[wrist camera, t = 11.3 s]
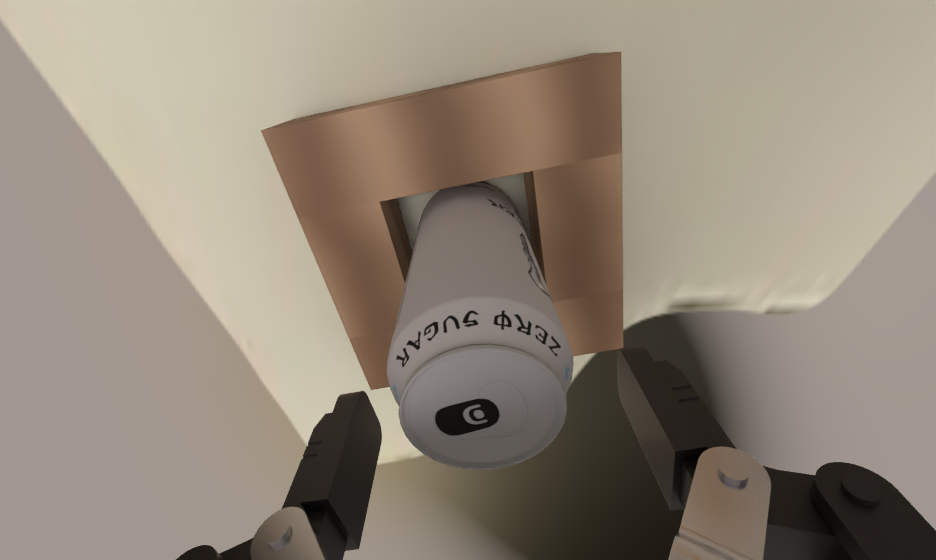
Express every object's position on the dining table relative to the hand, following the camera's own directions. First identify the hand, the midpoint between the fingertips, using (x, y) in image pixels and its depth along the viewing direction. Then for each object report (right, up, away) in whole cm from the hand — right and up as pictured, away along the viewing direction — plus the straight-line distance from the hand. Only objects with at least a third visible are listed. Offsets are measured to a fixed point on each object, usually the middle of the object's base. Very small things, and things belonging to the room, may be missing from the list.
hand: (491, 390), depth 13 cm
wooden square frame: (-1, +7, +12) cm, 14 cm away
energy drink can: (-1, +7, +12) cm, 14 cm away
